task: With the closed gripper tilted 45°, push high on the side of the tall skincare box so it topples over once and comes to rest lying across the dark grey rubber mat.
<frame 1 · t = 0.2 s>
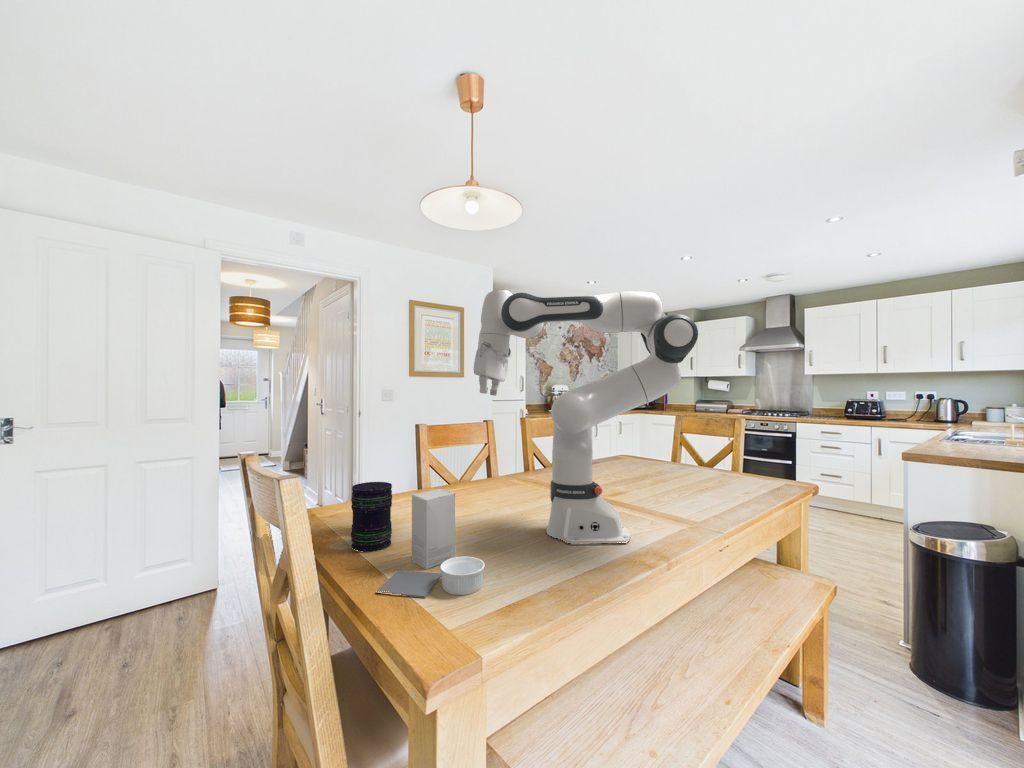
hand: (488, 394, 119), 38 cm above the table, tool pointing down, fingers open, 8 cm apart
black cylinder: (371, 545, 106), on the table
skincare box: (433, 561, 96), on the table
ramekin: (462, 587, 84), on the table
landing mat: (410, 584, 84), on the table
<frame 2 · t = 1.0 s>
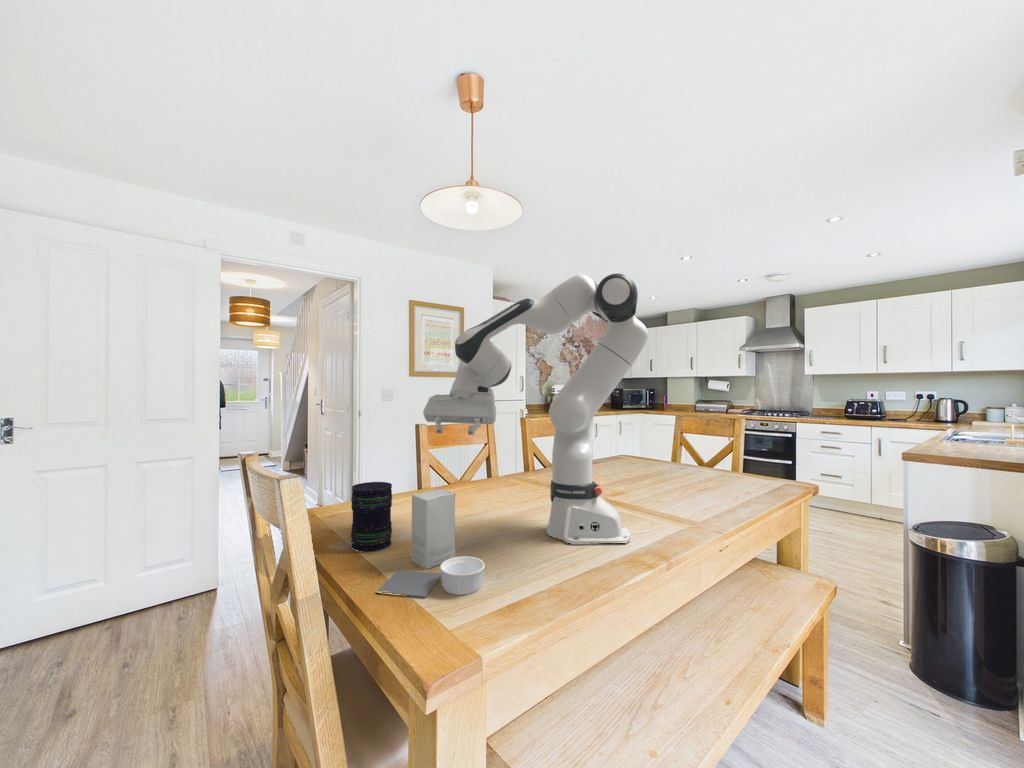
hand: (454, 432, 112), 28 cm above the table, tool tilted 45°, fingers open, 8 cm apart
nothing on the table moved.
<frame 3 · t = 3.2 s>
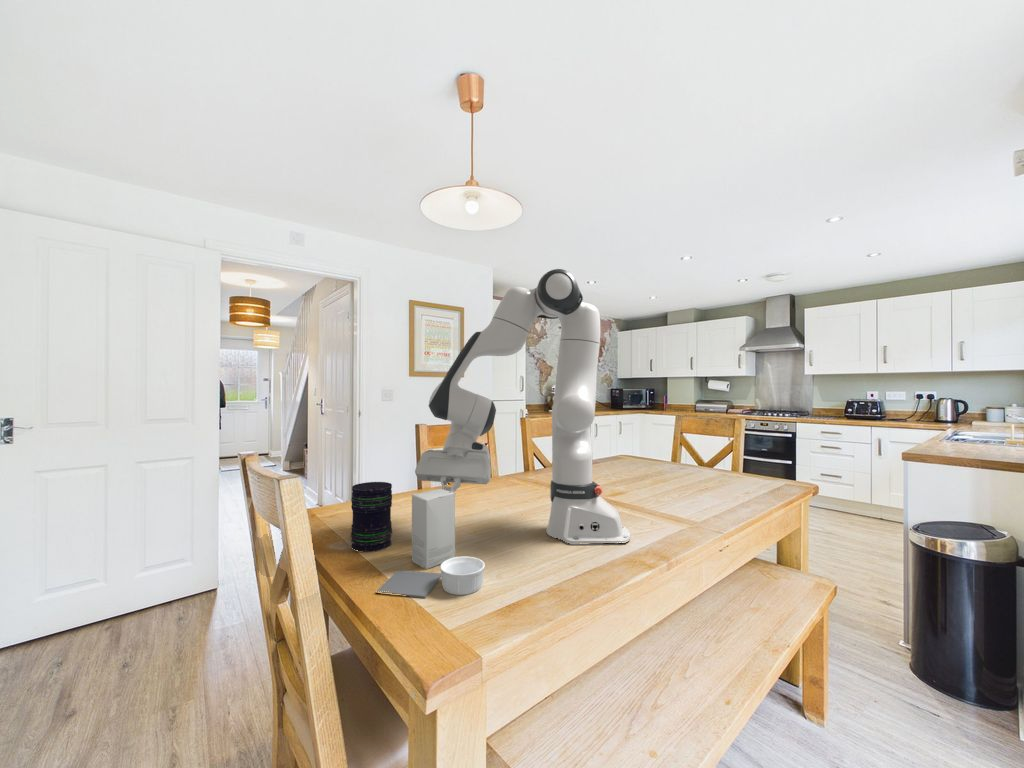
hand: (447, 494, 107), 13 cm above the table, tool tilted 45°, fingers closed
nothing on the table moved.
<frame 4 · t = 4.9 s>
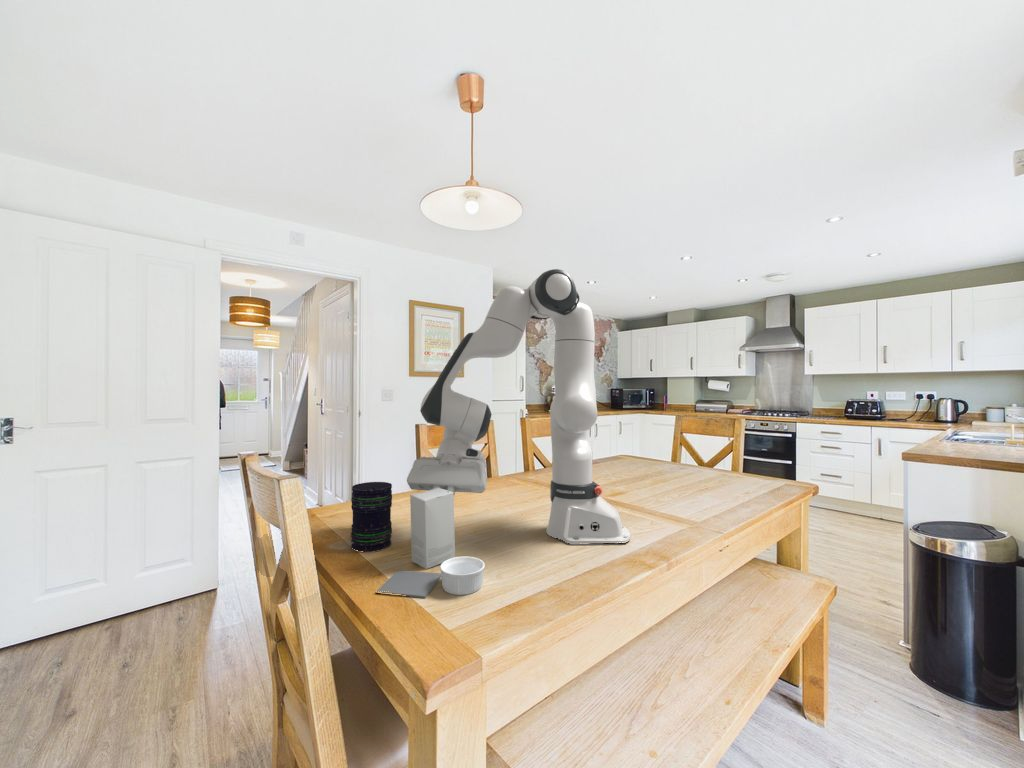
hand: (440, 504, 102), 11 cm above the table, tool tilted 45°, fingers closed
skincare box: (433, 561, 96), on the table, touching gripper
everything else where it was.
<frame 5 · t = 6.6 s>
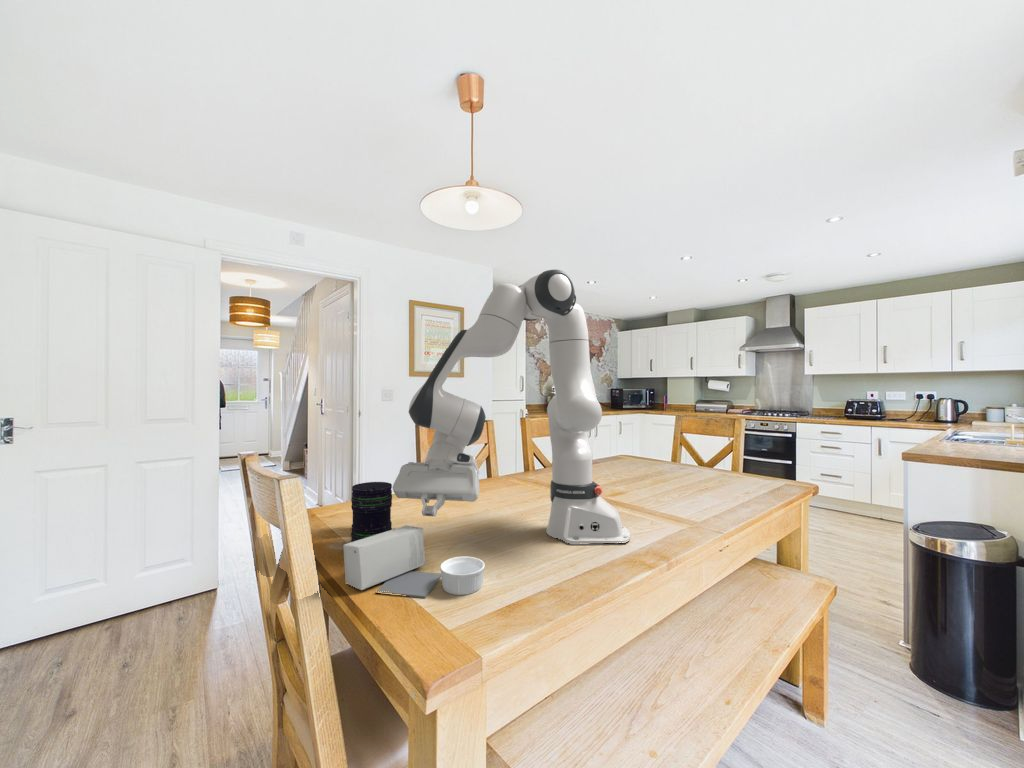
hand: (428, 514, 93), 11 cm above the table, tool tilted 45°, fingers closed
skincare box: (417, 544, 94), point 4 cm above the table, touching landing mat
everything else where it was.
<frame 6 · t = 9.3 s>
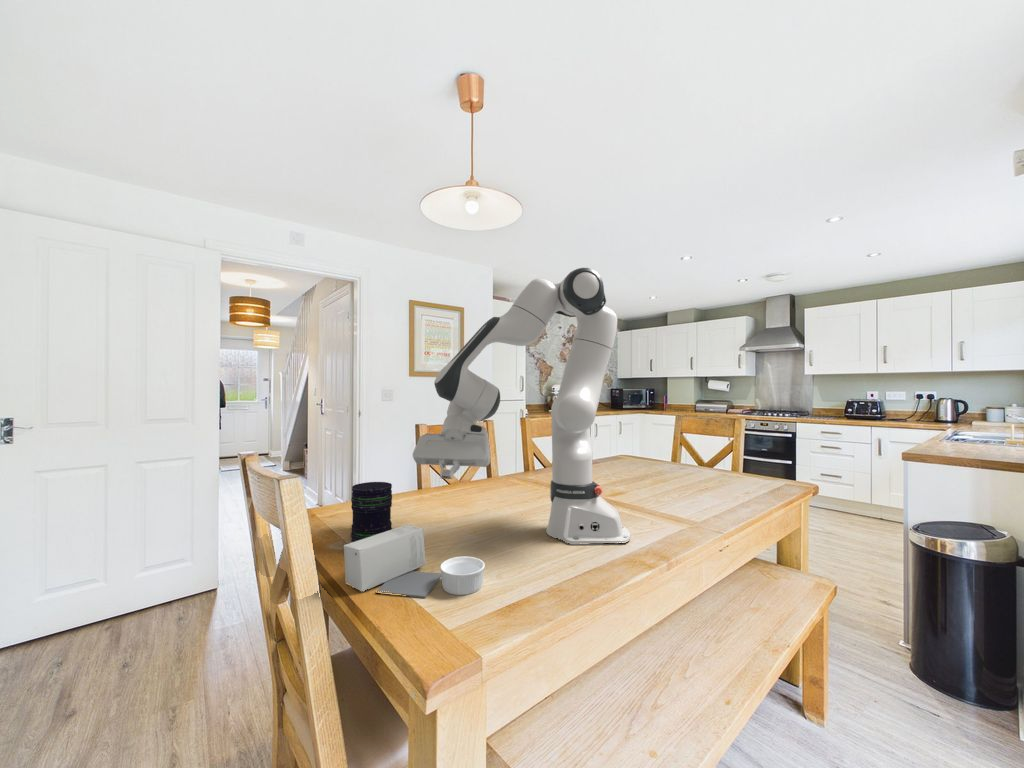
hand: (446, 477, 105), 17 cm above the table, tool tilted 45°, fingers closed
nothing on the table moved.
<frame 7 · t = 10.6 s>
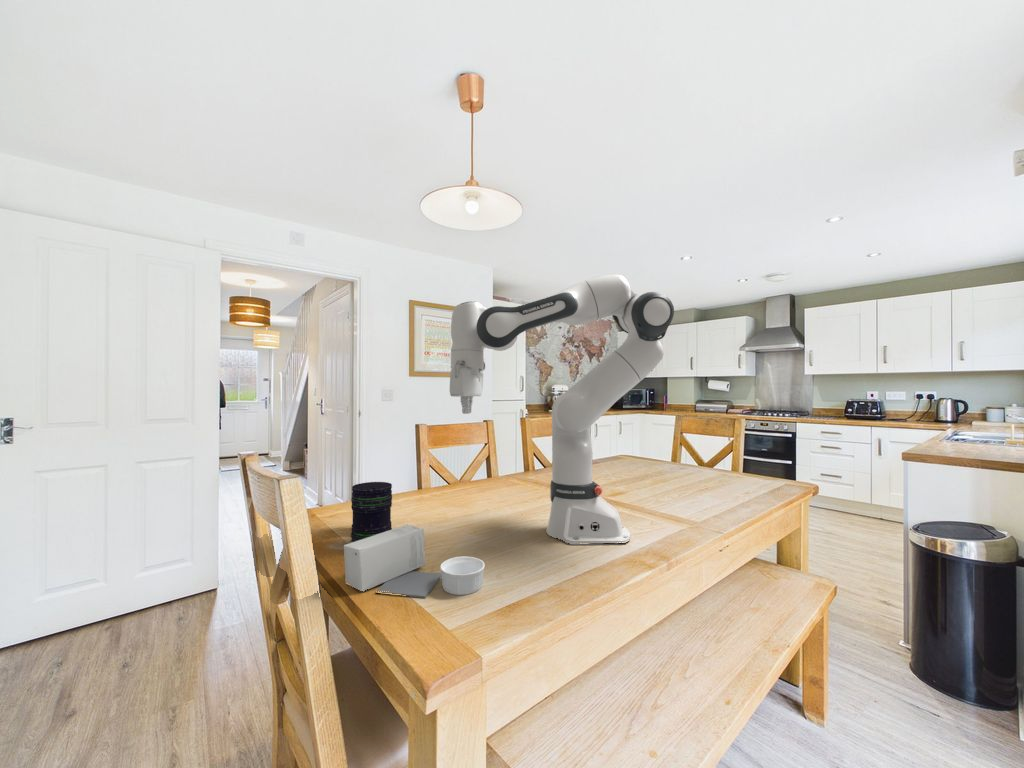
hand: (466, 413, 113), 33 cm above the table, tool pointing down, fingers closed
nothing on the table moved.
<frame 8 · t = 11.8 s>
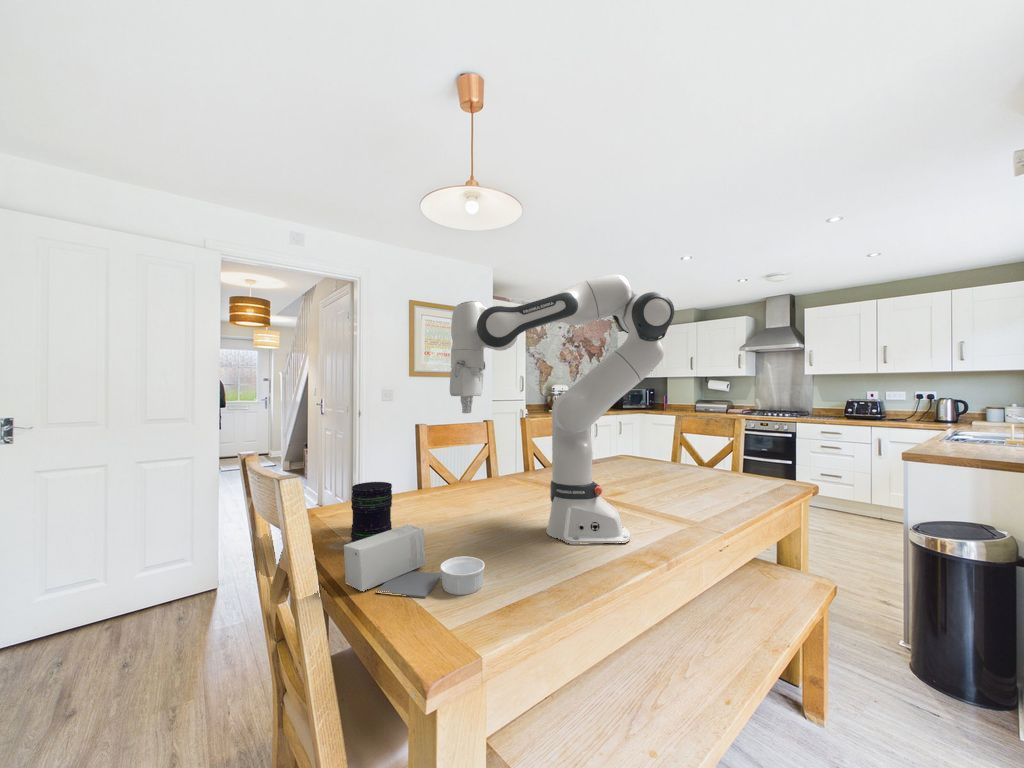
hand: (466, 413, 113), 33 cm above the table, tool pointing down, fingers closed
nothing on the table moved.
at the end: skincare box tilted 91°; skincare box touching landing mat, table; skincare box inside the target area (3.7 cm from its centre), point 4.5 cm above the table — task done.
